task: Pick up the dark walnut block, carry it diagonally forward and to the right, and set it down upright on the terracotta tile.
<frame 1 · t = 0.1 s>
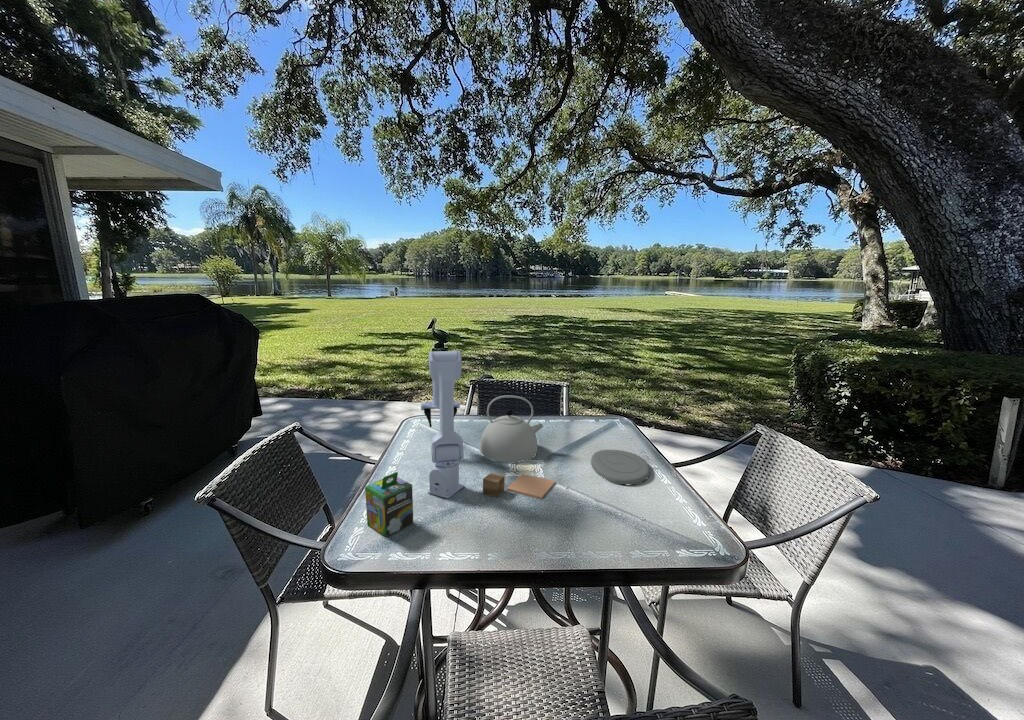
hand: (440, 425, 163), 11 cm above the table, tool pointing down, fingers open, 7 cm apart
walnut block: (493, 492, 133), on the table
kettle: (511, 451, 167), on the table
terracotta tile: (531, 486, 137), on the table
frisbee: (620, 469, 152), on the table
chalk box: (390, 525, 115), on the table
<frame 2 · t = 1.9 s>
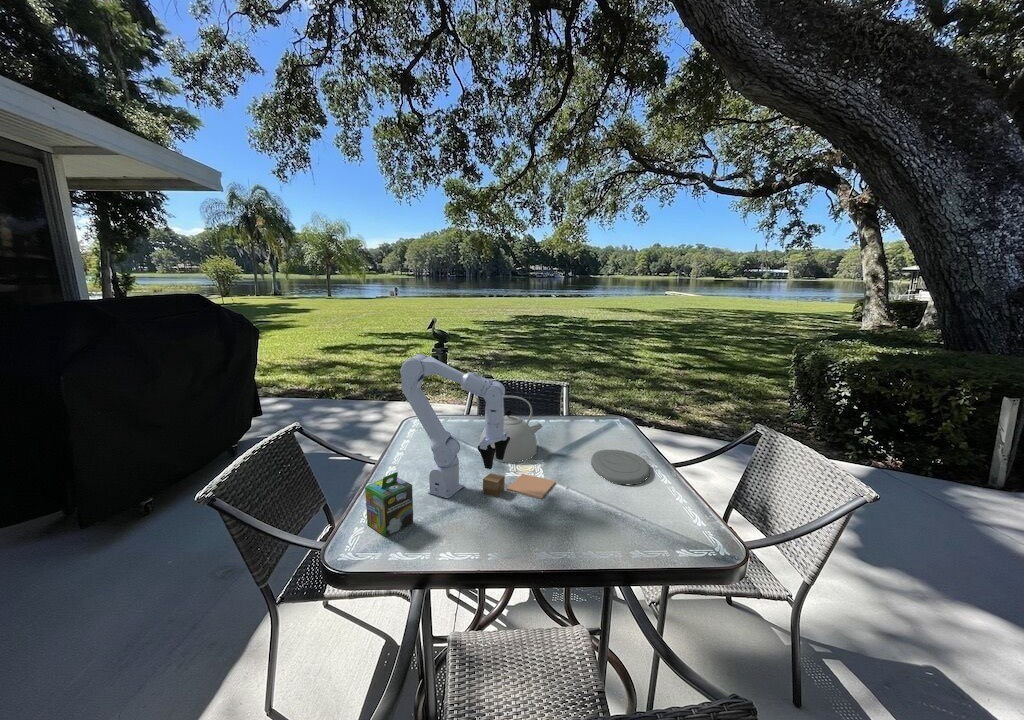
hand: (494, 463, 132), 9 cm above the table, tool pointing down, fingers open, 7 cm apart
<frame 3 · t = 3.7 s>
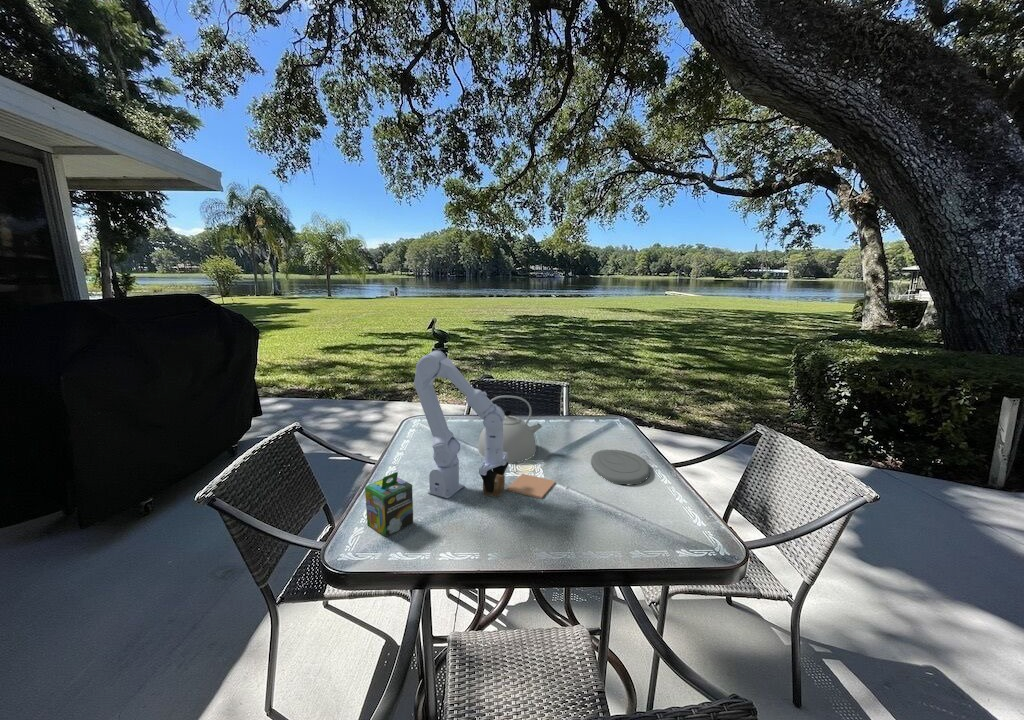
hand: (493, 487, 133), 1 cm above the table, tool pointing down, fingers closed on walnut block, 5 cm apart
walnut block: (493, 492, 133), on the table, touching gripper
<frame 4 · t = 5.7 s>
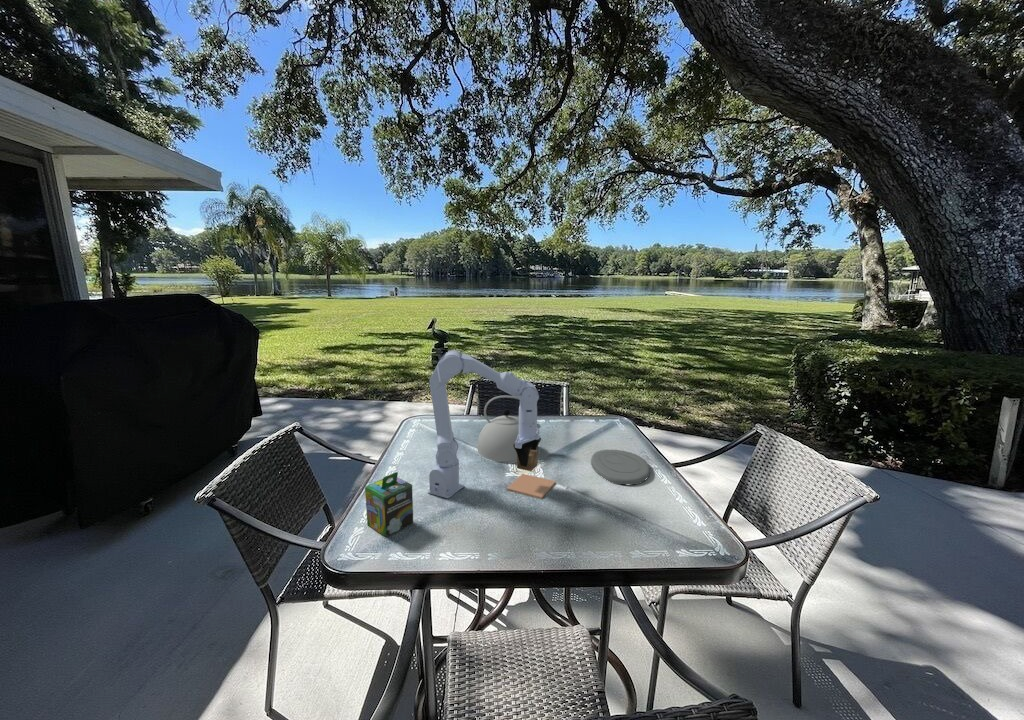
hand: (527, 462, 135), 9 cm above the table, tool pointing down, fingers closed on walnut block, 5 cm apart
walnut block: (527, 466, 135), point 7 cm above the table, touching gripper
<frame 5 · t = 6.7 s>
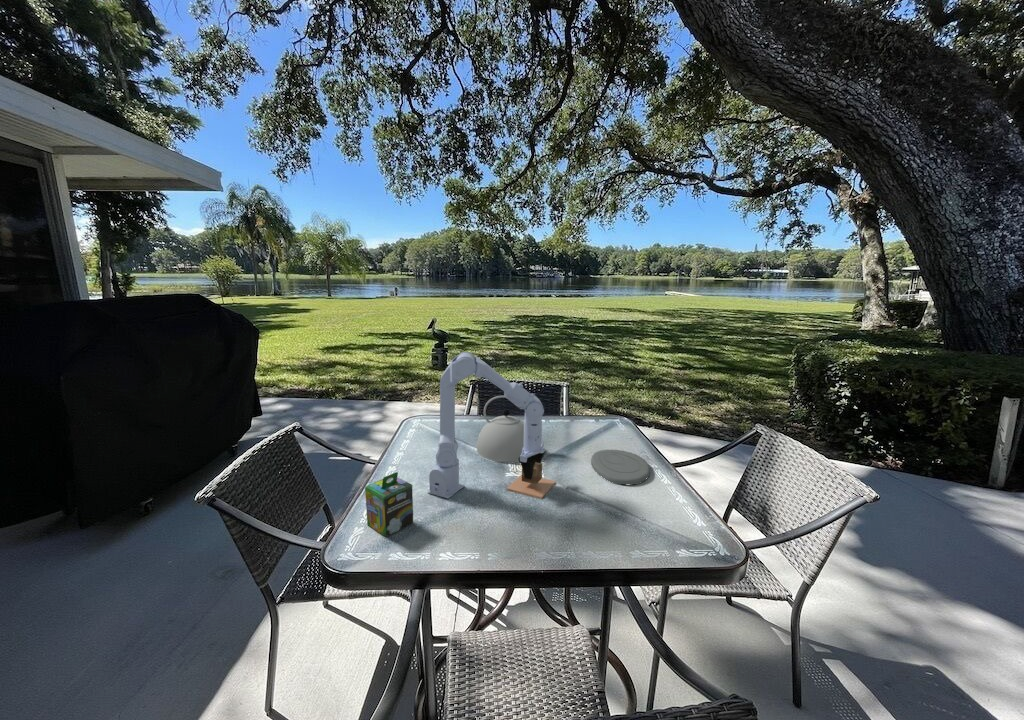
hand: (531, 475, 137), 4 cm above the table, tool pointing down, fingers closed on walnut block, 5 cm apart
walnut block: (531, 479, 137), point 2 cm above the table, touching gripper
when the fingers open (3 cm above the table, at t = 7.7 s): walnut block drops 1 cm, resting on terracotta tile.
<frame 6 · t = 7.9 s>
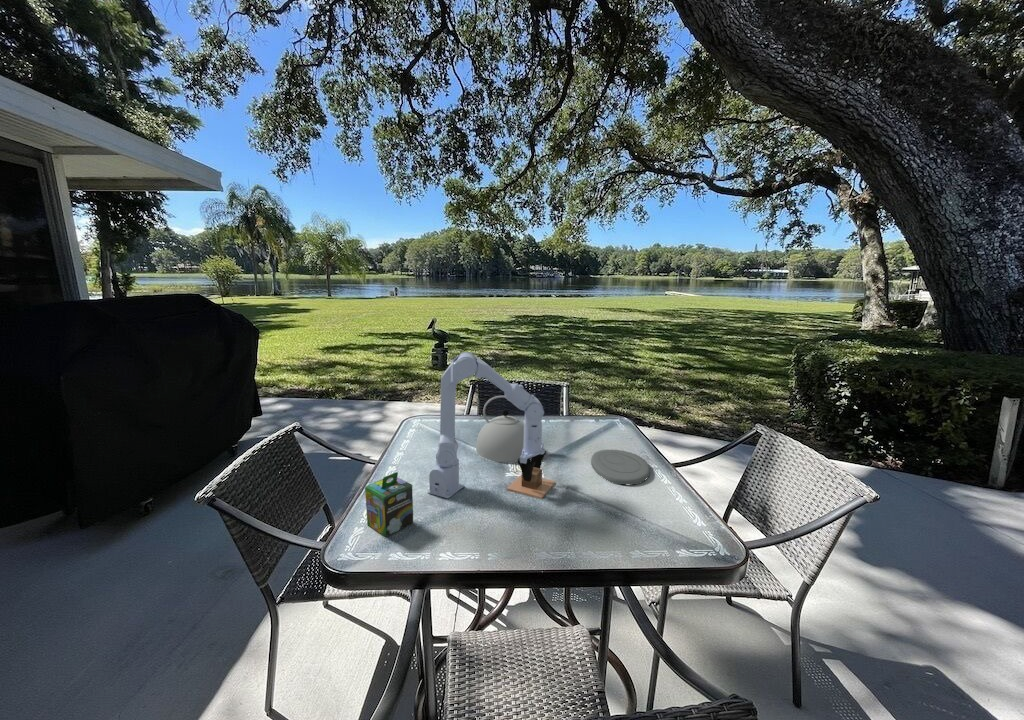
hand: (531, 476, 137), 4 cm above the table, tool pointing down, fingers open, 6 cm apart
walnut block: (531, 484, 137), point 1 cm above the table, touching terracotta tile
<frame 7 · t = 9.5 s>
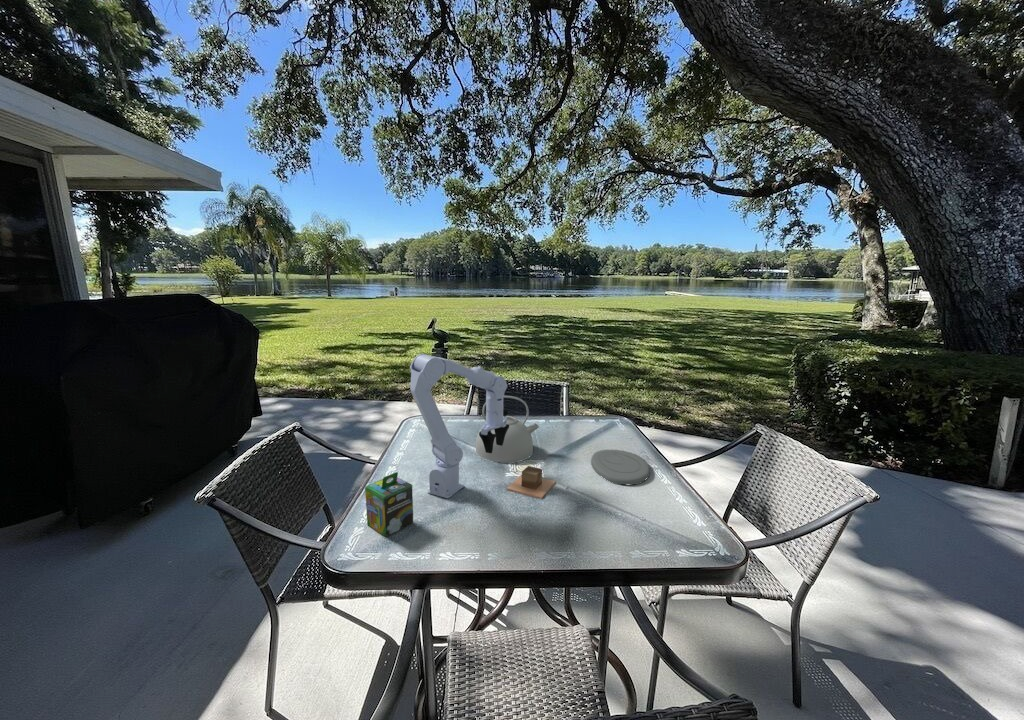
hand: (494, 448, 144), 9 cm above the table, tool pointing down, fingers open, 7 cm apart
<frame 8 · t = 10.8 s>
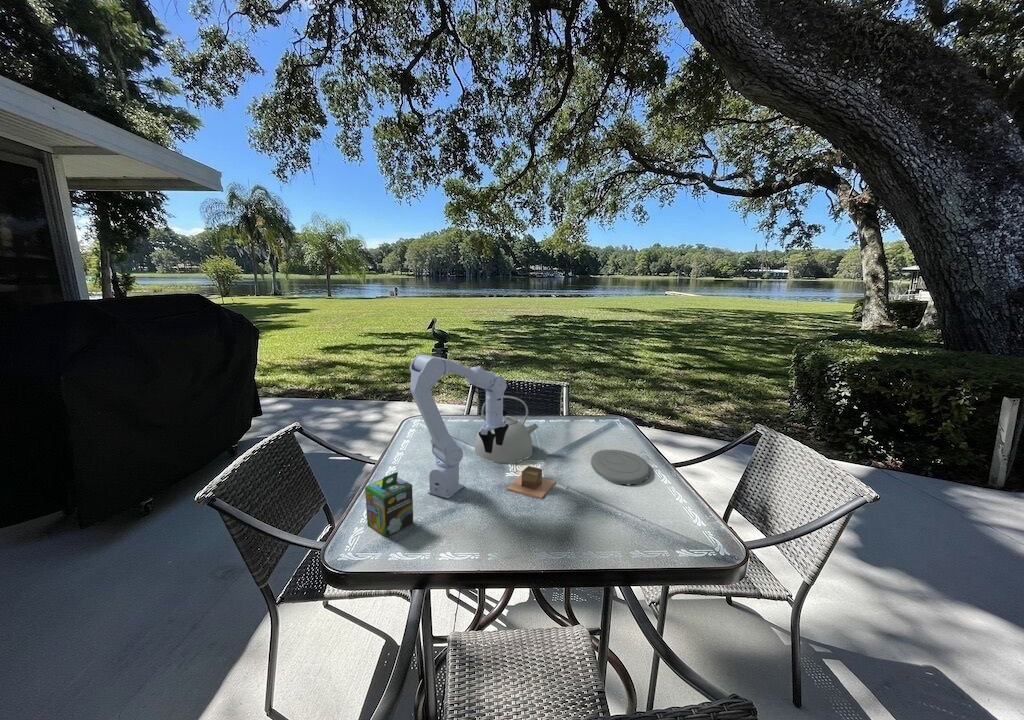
hand: (494, 448, 144), 9 cm above the table, tool pointing down, fingers open, 7 cm apart
at the end: walnut block inside the target area on the terracotta tile (0.1 cm from its centre), point 0.6 cm above the terracotta tile's base; walnut block tilted 0°; the gripper is holding nothing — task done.
